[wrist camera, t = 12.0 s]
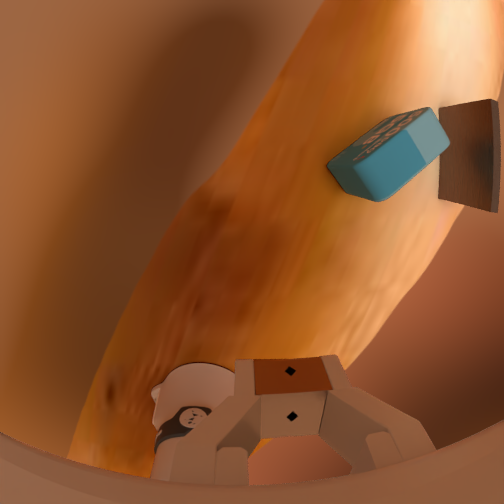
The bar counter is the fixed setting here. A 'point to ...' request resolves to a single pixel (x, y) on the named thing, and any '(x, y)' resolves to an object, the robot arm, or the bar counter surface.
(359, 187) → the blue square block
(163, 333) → the bar counter surface
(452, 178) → the bookend
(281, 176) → the bar counter surface
